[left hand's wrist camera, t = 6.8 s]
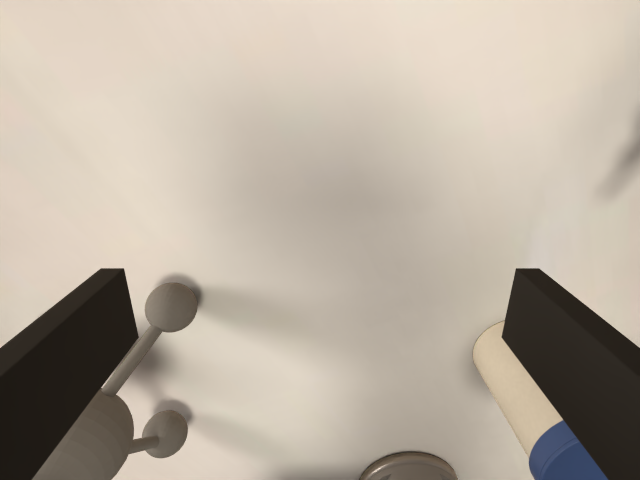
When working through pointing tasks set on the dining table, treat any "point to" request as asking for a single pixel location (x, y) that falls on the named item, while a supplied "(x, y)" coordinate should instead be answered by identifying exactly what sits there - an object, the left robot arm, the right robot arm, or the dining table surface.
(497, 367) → the jar
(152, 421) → the molecular model
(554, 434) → the lid
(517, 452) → the dining table surface
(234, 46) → the dining table surface
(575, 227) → the dining table surface
